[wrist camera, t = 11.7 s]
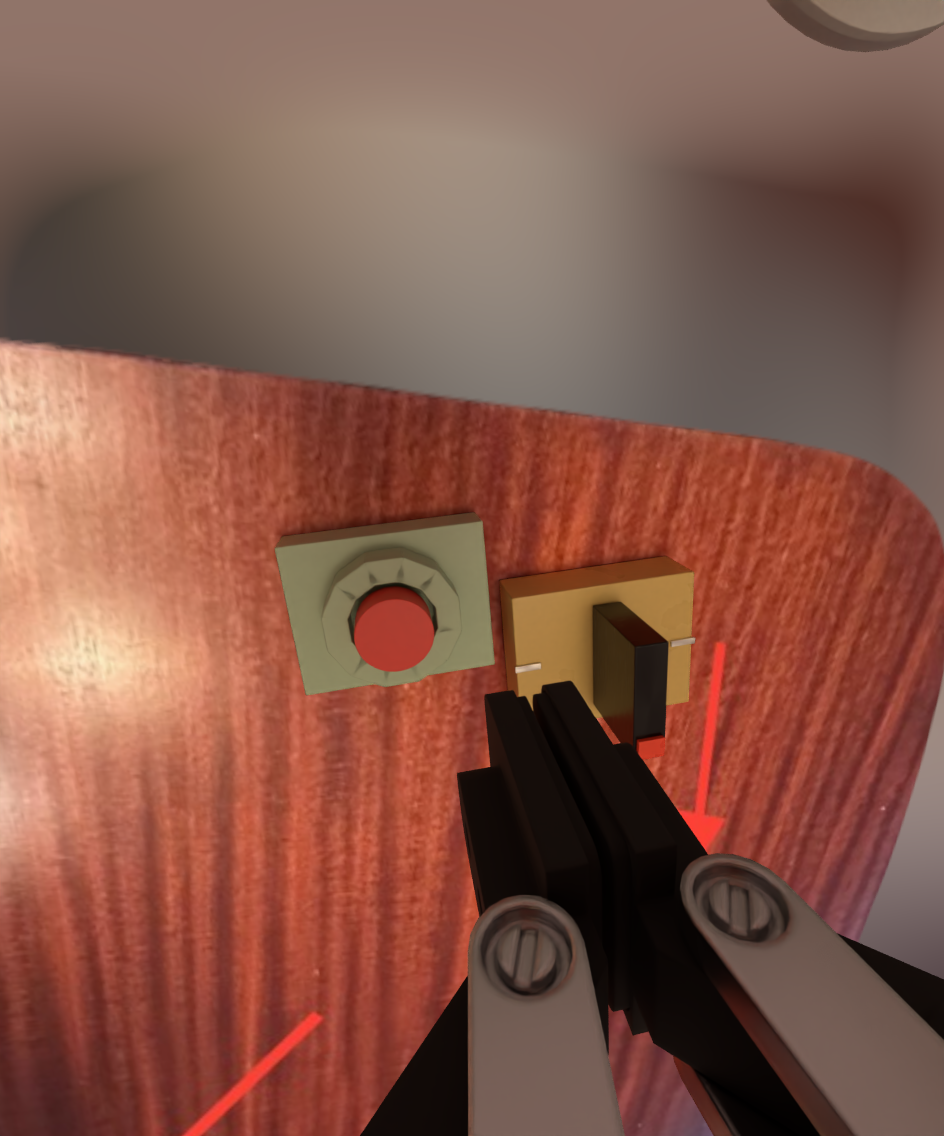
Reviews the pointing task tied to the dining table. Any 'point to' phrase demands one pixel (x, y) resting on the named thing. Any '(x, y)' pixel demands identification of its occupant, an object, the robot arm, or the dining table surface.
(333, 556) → the button block
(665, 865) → the robot arm
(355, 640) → the release button
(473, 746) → the dining table surface
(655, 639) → the block
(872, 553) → the dining table surface
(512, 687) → the plate
